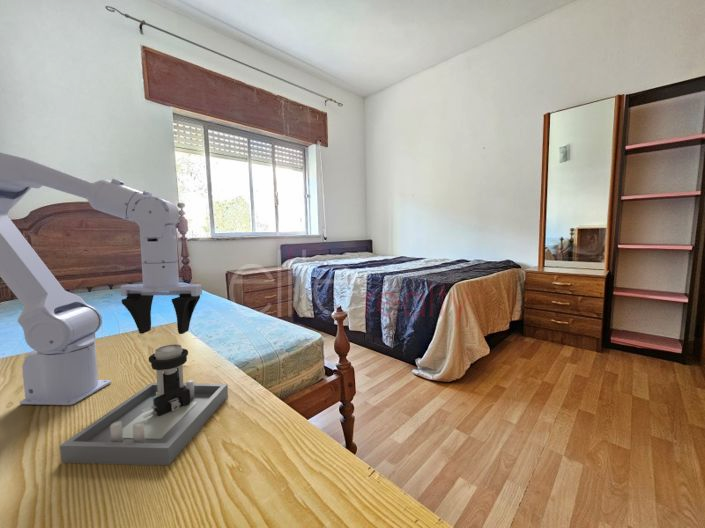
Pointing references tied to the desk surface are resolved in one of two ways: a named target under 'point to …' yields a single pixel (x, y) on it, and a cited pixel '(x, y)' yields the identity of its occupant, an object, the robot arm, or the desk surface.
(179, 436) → the pin tray
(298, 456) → the desk surface
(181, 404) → the push button
